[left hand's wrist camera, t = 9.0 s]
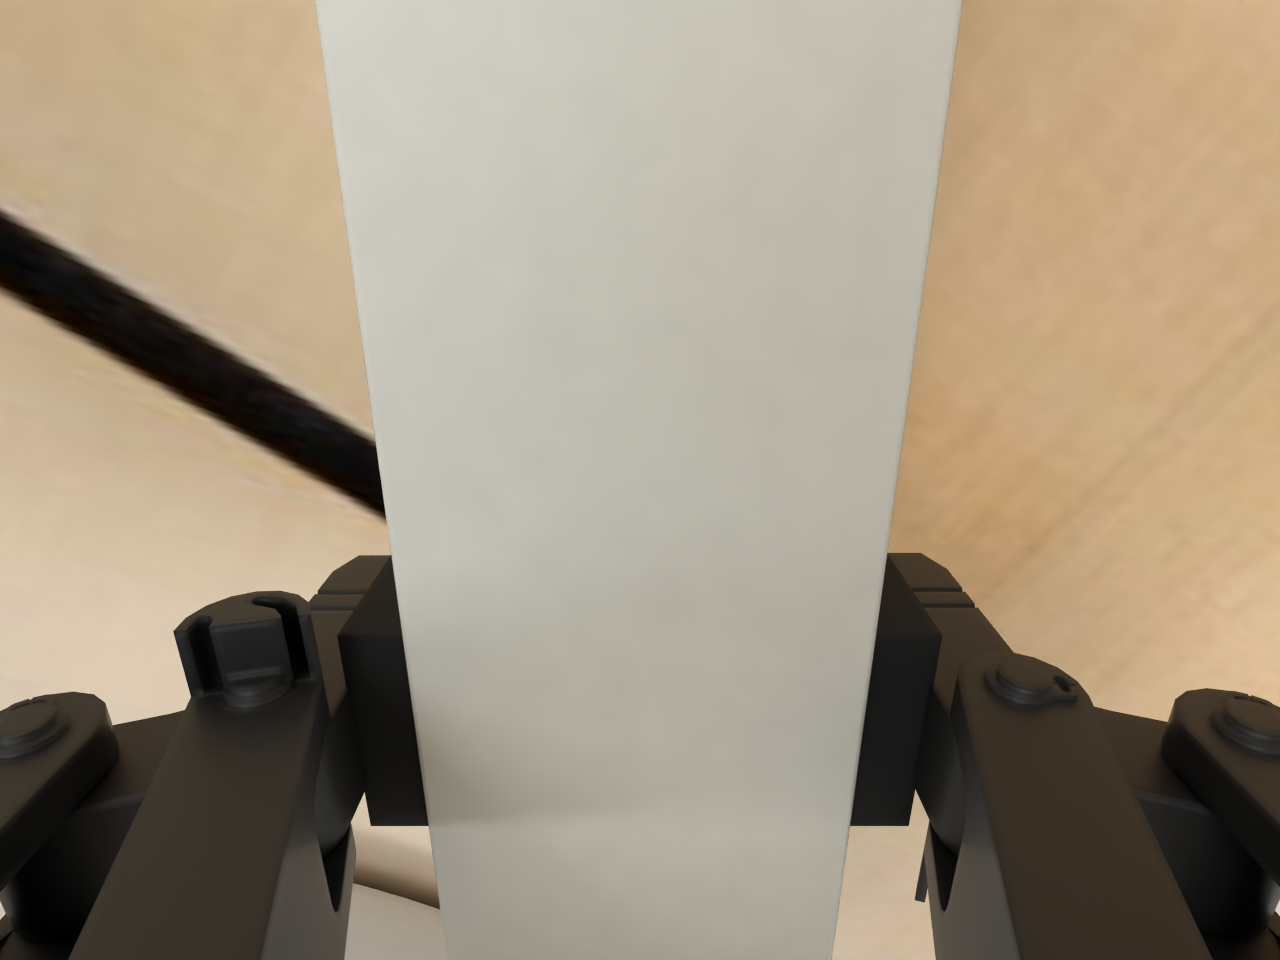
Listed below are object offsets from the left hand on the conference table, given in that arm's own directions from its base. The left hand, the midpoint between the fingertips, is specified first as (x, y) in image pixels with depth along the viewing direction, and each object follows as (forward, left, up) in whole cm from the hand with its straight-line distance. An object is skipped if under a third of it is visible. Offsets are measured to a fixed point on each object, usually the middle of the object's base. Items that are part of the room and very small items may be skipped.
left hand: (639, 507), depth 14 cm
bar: (+10, +29, -1) cm, 31 cm away
